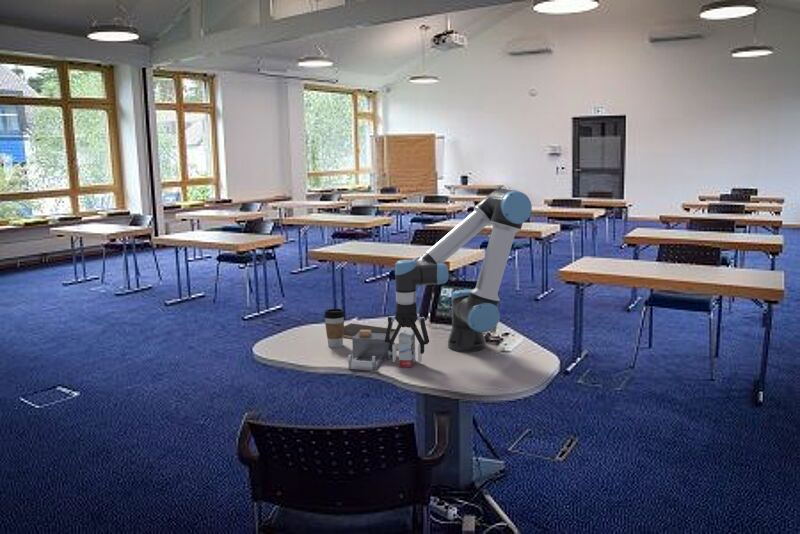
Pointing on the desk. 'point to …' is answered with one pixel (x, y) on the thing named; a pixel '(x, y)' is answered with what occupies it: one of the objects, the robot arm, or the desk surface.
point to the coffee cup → (334, 327)
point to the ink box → (406, 348)
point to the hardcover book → (353, 329)
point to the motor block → (371, 345)
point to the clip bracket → (364, 363)
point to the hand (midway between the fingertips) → (407, 361)
